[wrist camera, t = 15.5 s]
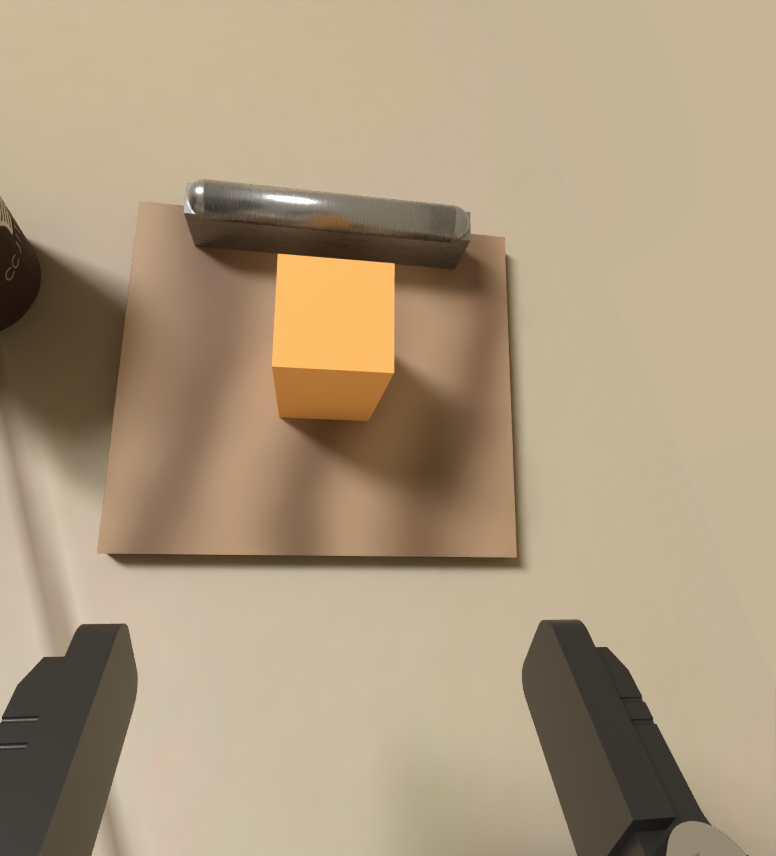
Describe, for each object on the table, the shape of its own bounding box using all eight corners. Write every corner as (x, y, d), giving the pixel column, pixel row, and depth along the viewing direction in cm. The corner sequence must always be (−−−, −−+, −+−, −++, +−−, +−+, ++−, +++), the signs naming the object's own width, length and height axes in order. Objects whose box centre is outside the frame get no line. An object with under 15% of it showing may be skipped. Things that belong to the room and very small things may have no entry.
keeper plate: (105, 553, 26) (61, 553, 22) (145, 214, 30) (115, 149, 25) (508, 557, 29) (550, 558, 25) (497, 248, 33) (531, 195, 28)
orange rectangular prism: (279, 417, 28) (271, 366, 20) (283, 333, 29) (277, 253, 21) (368, 421, 29) (394, 373, 21) (369, 338, 30) (394, 263, 22)
